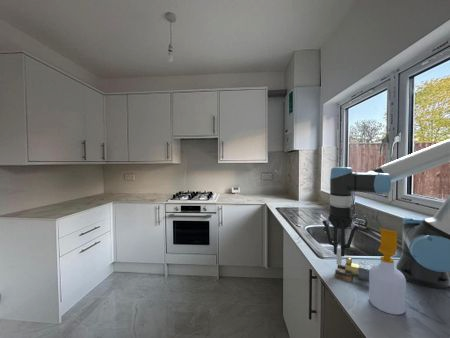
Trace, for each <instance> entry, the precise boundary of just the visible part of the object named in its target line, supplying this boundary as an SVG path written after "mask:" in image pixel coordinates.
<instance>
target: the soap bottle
mask: <svg viewBox="0 0 450 338" xmlns="http://www.w3.org/2000/svg"><path fill="white" fill-rule="evenodd" d="M378 230H379V231H380V246H379V248H377V249H378V250H377V251H378V252H380V253H381V254H382V255H383V256H380V262H379V263H378V264H377V263H376V264H377V265H375V264H374V265H372V267H371V269H370V271H369V287H368V299H369V302H370V303H371V304H372V306H373V307H375V309H378V310H380V311H382V312H384V313H387V314H390V315H391V314H392V315H398V316H399V315H403V314H405V312H406V304H407V303H406V301H407V300H406V298H407V297H406V292H407V280H406V279H405V276H404V275H403V274H402V273H401V272H400V271H399V270H398V269H396V267H395V265H394V264H395V260H394V259H393V258H391V257H392V256H395V255H396V252H397V250H398V249H397V247H398V232H397V231H396V230H390V229H384V228H381V227H380V228H378Z"/></svg>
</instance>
